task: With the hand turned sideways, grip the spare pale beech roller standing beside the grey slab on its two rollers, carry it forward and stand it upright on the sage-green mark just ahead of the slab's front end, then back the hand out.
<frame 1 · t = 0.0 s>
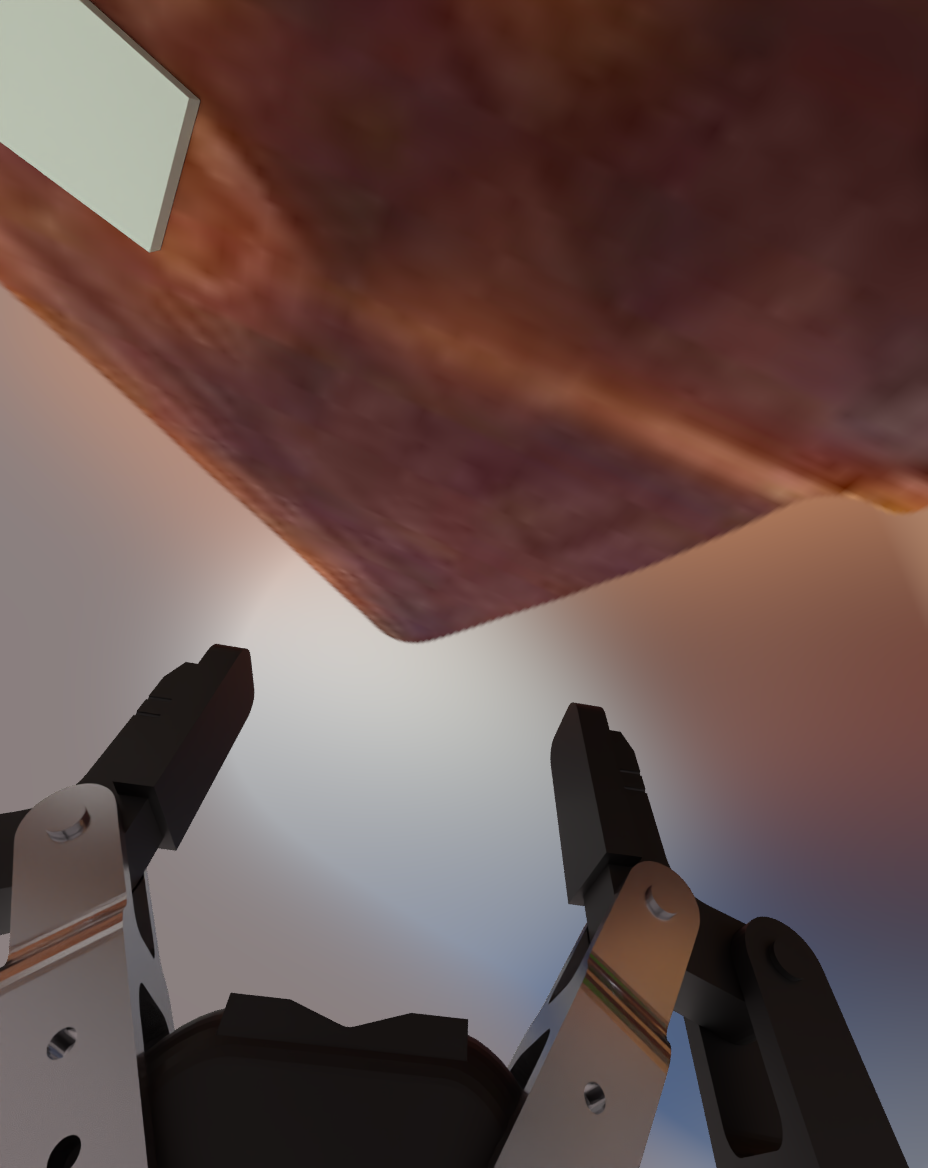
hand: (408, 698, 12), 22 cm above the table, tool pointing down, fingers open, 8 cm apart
green mark: (101, 118, 21), on the table
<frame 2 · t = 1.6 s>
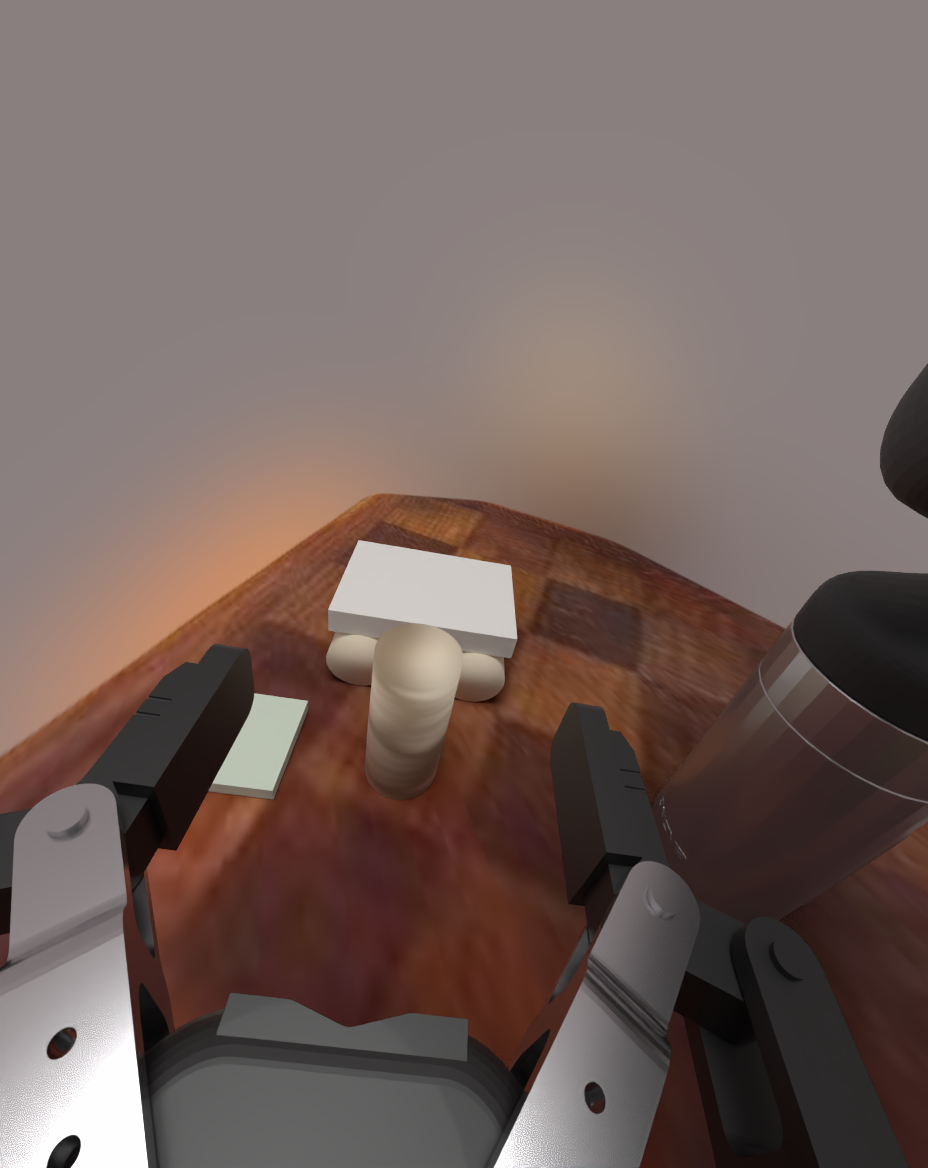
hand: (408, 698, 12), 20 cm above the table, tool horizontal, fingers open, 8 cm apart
slab rig: (420, 646, 42), on the table
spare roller: (401, 765, 32), on the table
green mark: (240, 743, 31), on the table
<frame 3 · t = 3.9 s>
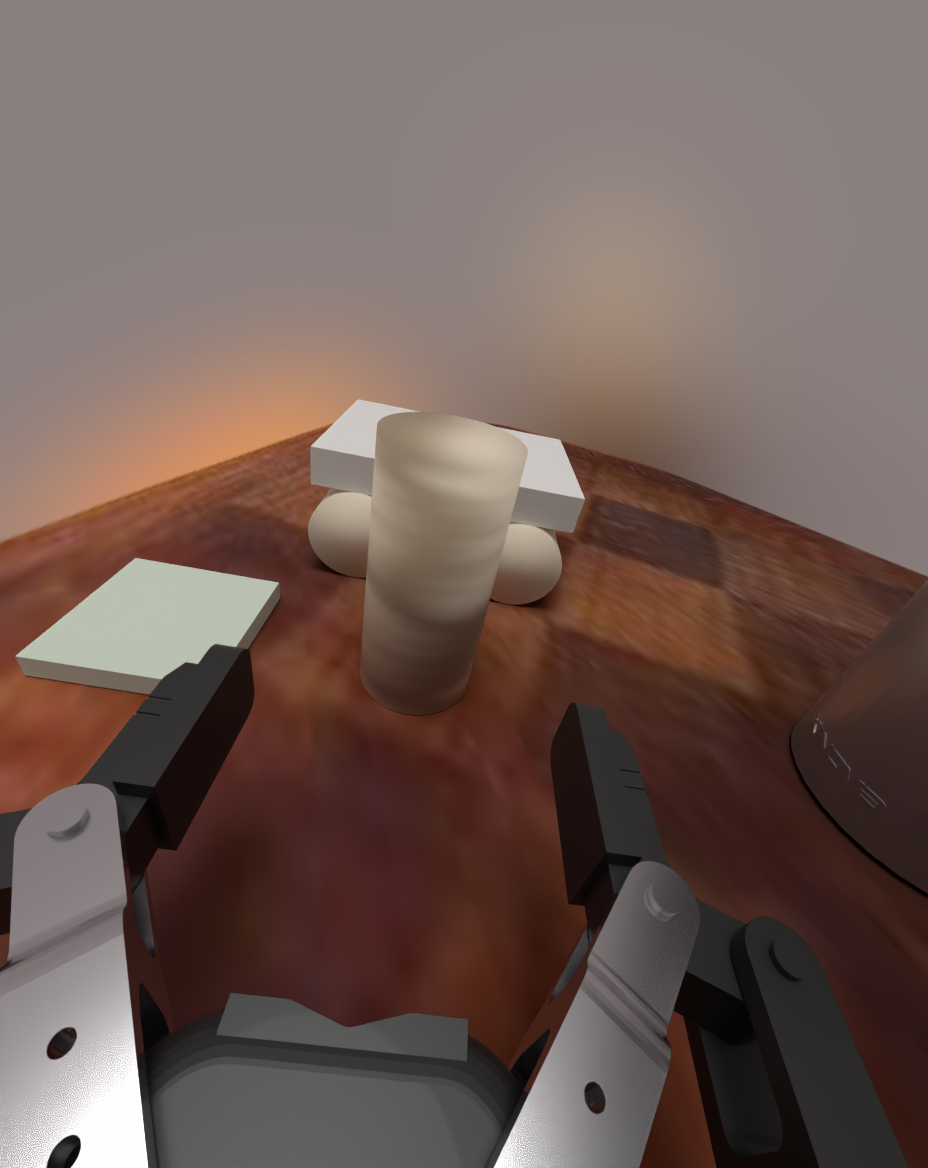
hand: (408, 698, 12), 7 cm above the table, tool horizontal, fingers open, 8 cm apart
slab rig: (438, 543, 31), on the table
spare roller: (415, 671, 21), on the table
green mark: (171, 631, 21), on the table
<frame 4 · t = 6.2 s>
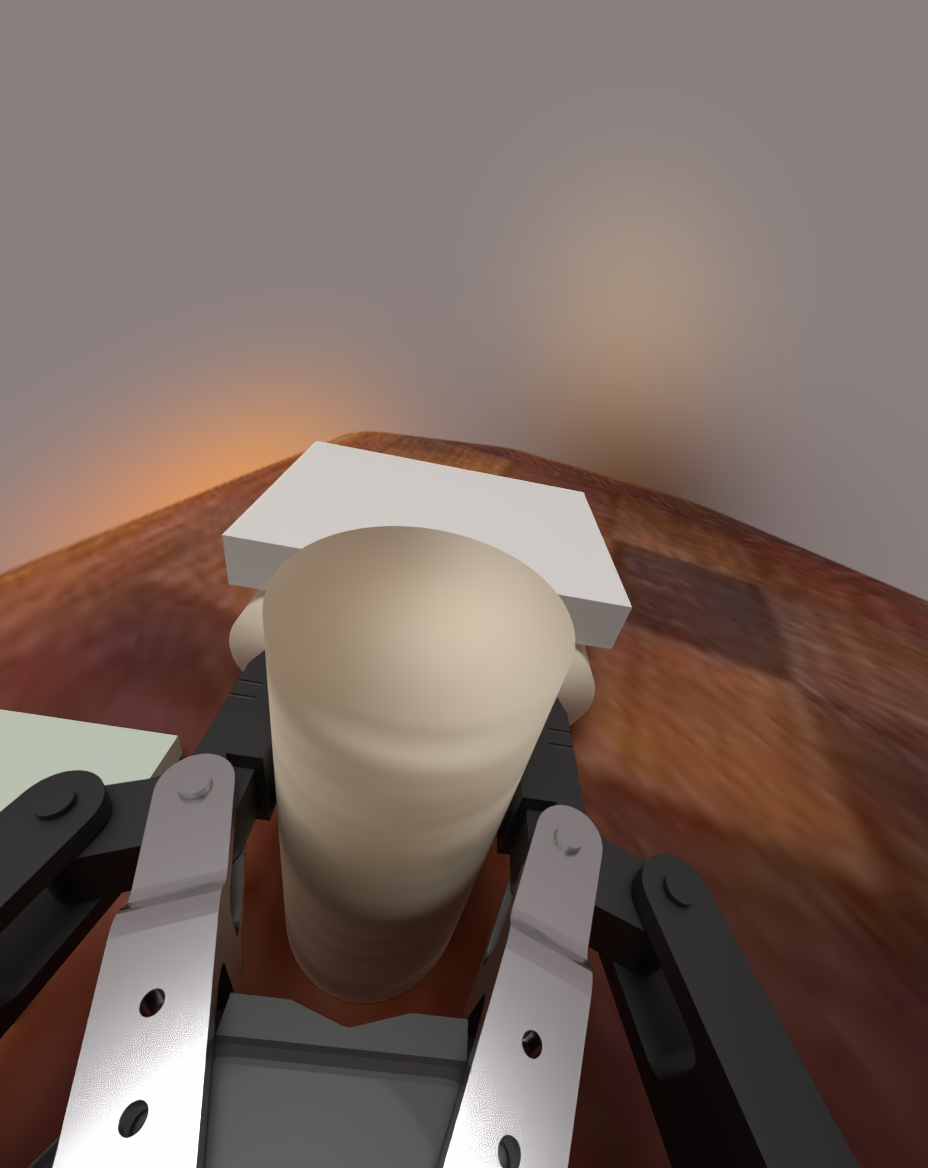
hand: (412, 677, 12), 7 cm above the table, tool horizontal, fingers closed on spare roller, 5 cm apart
slab rig: (423, 631, 24), on the table
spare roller: (375, 892, 14), on the table, touching gripper
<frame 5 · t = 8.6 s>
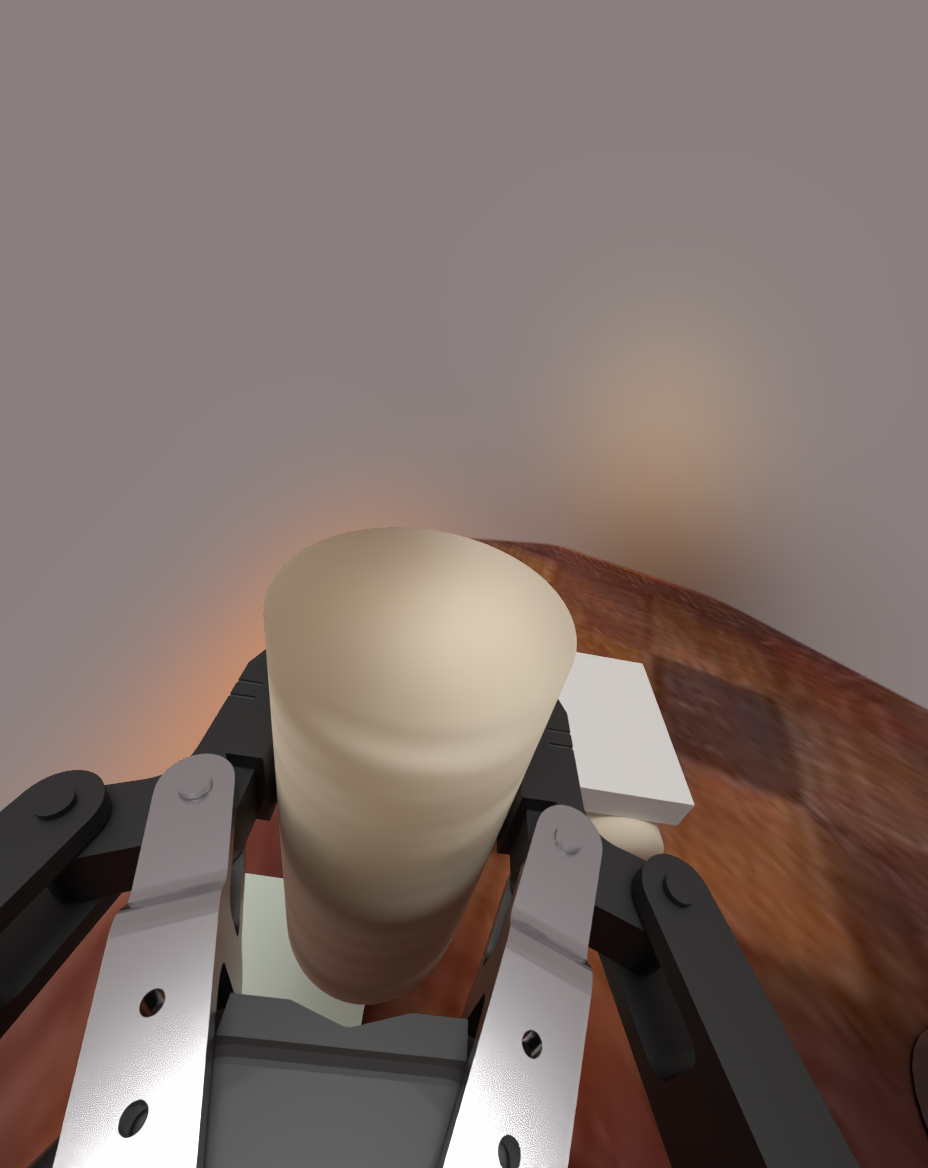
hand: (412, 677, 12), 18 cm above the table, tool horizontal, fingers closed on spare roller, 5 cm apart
slab rig: (519, 773, 31), on the table
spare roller: (376, 894, 14), point 11 cm above the table, touching gripper
green mark: (288, 980, 20), on the table
when the fingers open (8 cm above the table, at t = 11.2 s): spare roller stays where it is, resting on green mark.
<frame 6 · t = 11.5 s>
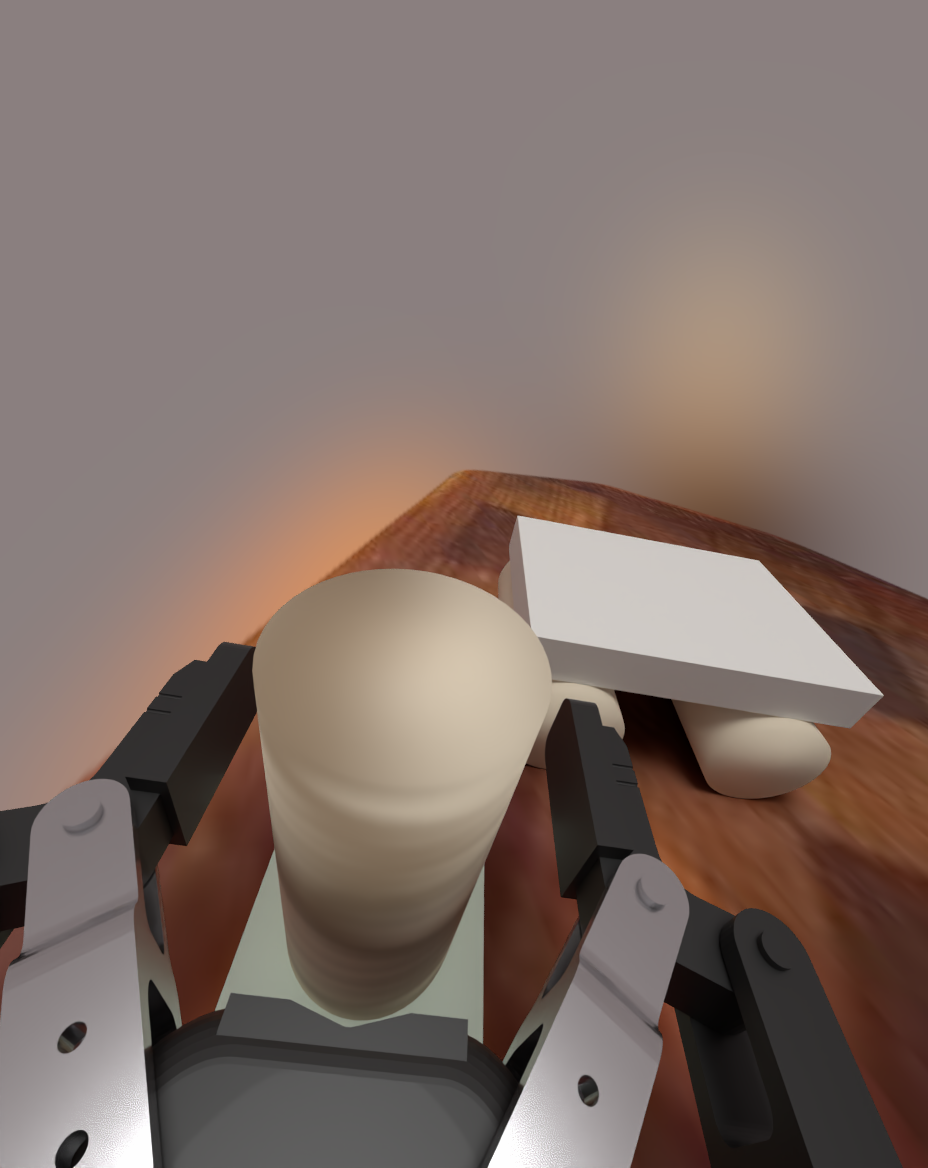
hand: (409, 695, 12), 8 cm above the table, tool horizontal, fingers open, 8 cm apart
slab rig: (614, 691, 25), on the table
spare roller: (373, 910, 14), point 1 cm above the table, touching green mark
green mark: (370, 920, 15), on the table
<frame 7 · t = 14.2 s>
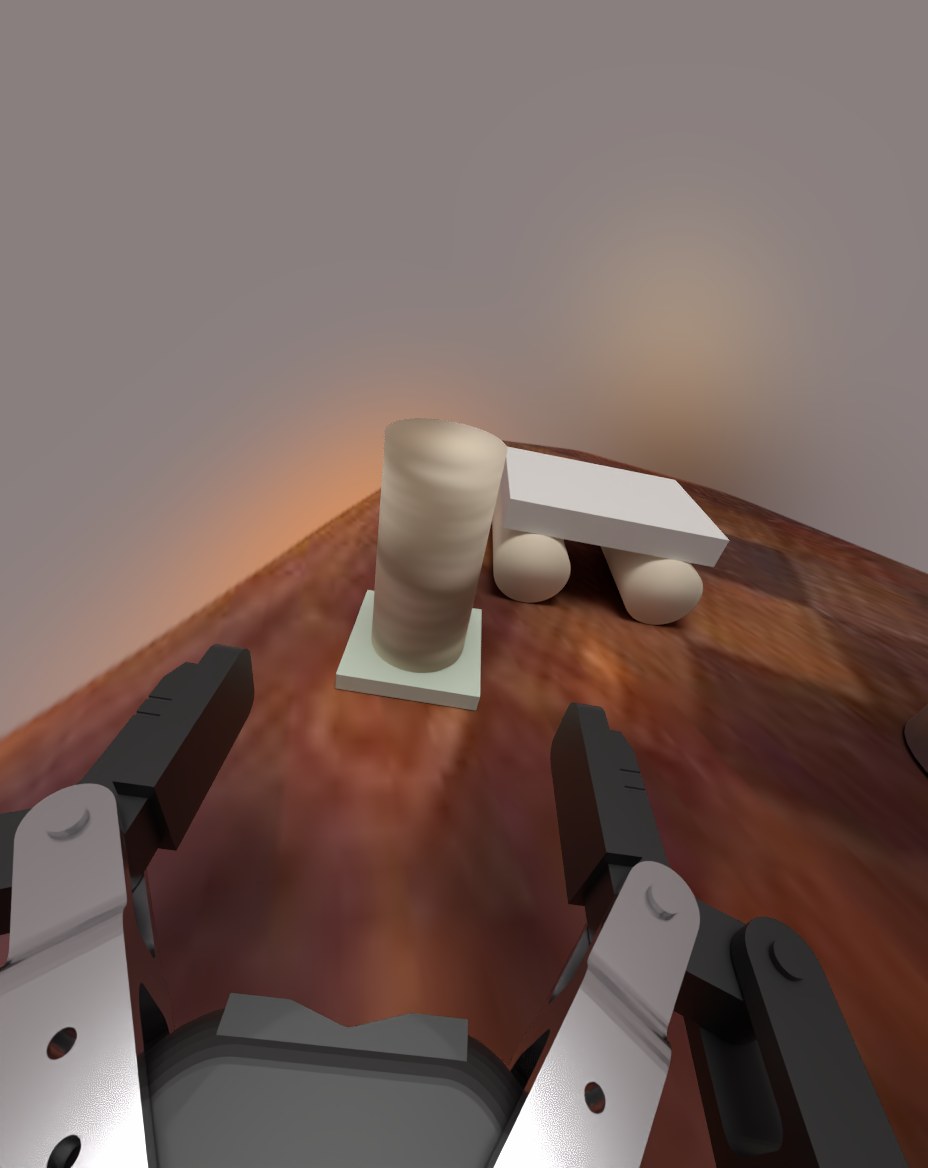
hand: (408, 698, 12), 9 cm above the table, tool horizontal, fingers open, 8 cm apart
slab rig: (573, 570, 36), on the table
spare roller: (418, 638, 25), point 1 cm above the table, touching green mark
green mark: (415, 651, 26), on the table
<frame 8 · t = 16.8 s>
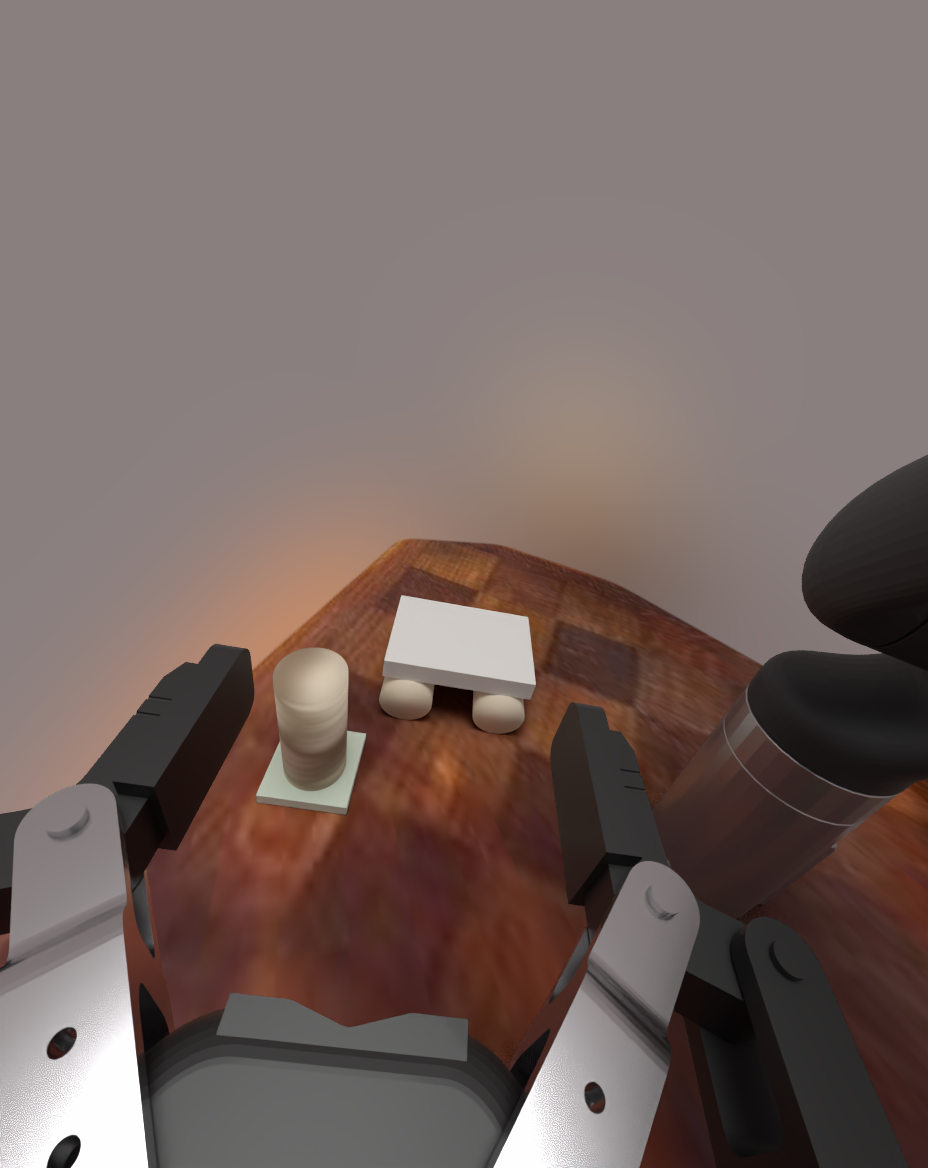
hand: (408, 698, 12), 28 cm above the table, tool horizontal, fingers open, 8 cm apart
slab rig: (451, 684, 50), on the table
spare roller: (315, 762, 39), point 1 cm above the table, touching green mark
green mark: (315, 769, 39), on the table
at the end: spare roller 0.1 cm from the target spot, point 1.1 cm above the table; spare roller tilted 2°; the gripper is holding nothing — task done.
